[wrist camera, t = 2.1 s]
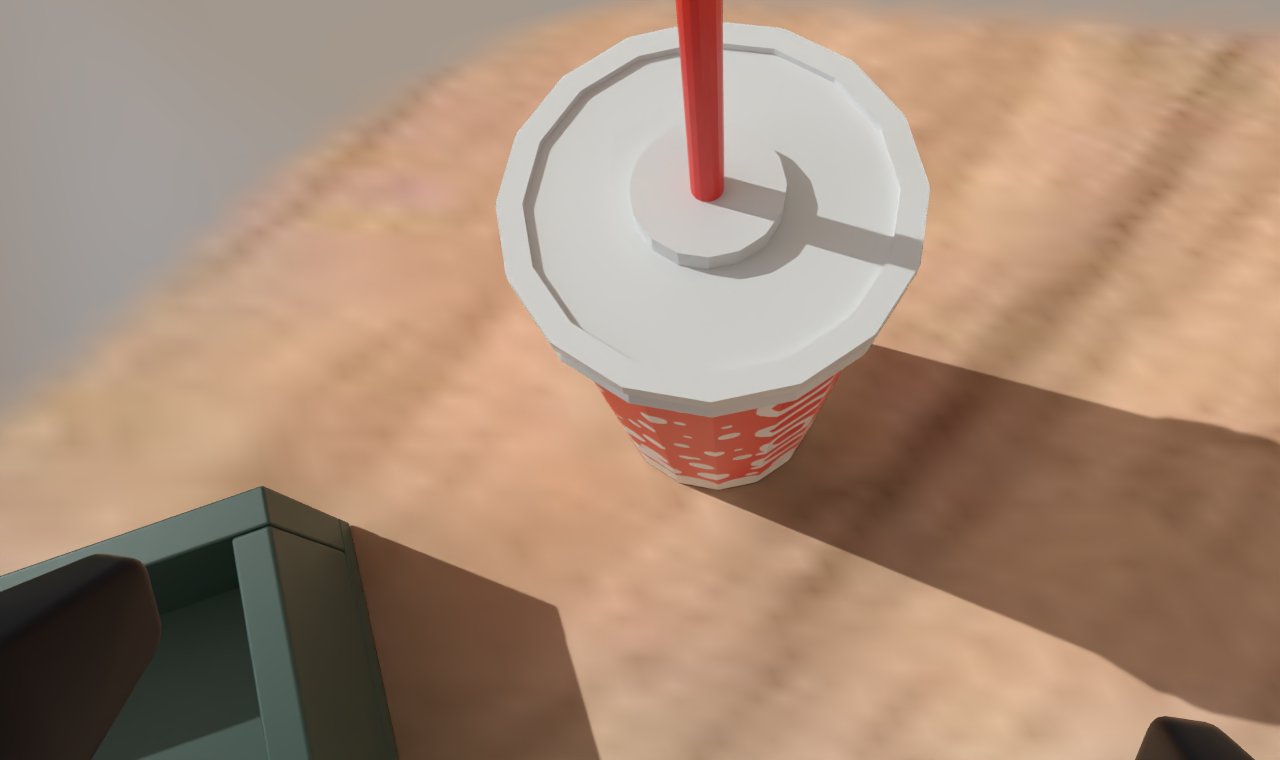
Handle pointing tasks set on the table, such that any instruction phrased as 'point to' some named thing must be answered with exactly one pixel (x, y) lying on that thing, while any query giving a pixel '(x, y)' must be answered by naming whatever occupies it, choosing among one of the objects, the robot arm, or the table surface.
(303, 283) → the table surface
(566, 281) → the beverage cup
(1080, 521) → the table surface
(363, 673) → the green square tray
